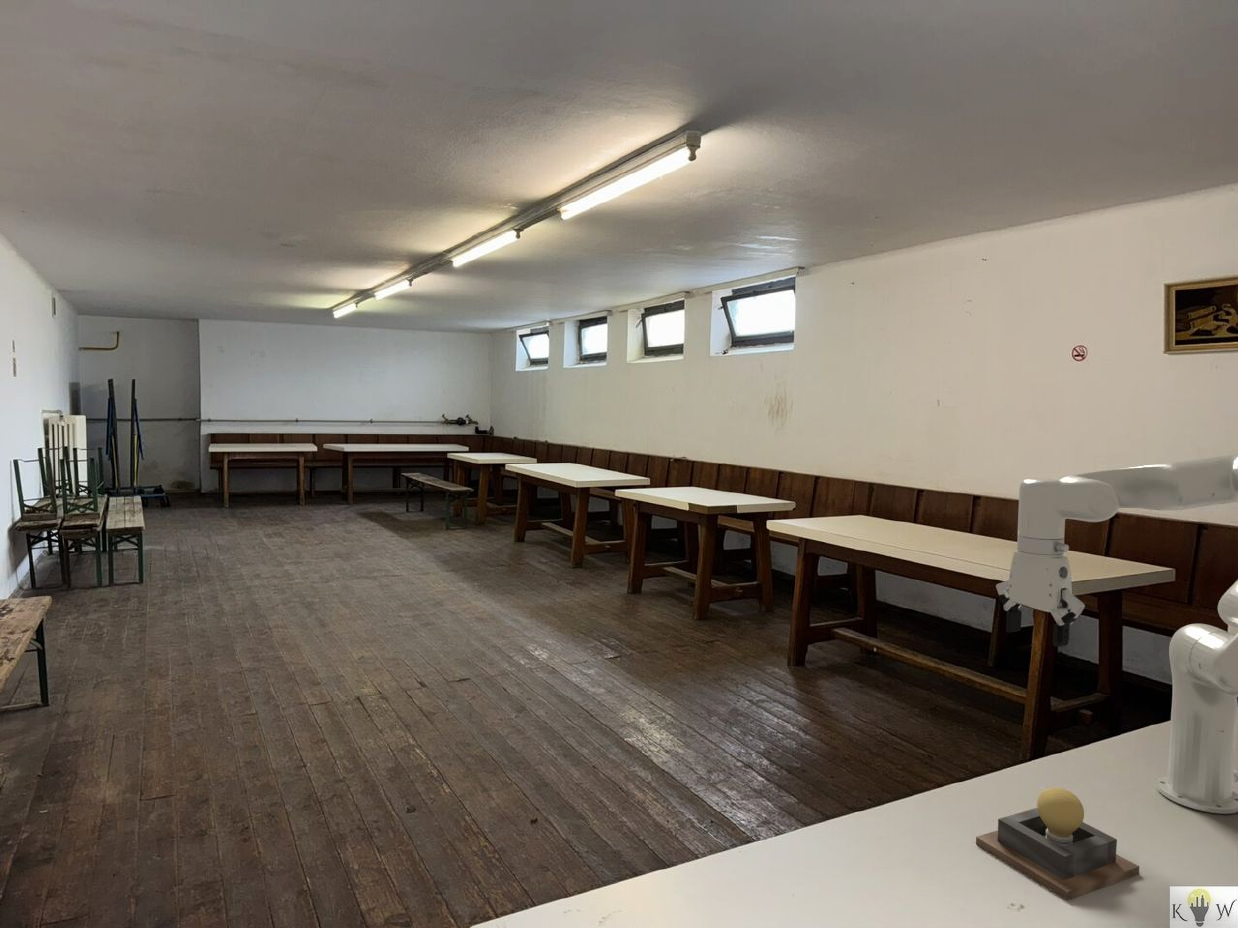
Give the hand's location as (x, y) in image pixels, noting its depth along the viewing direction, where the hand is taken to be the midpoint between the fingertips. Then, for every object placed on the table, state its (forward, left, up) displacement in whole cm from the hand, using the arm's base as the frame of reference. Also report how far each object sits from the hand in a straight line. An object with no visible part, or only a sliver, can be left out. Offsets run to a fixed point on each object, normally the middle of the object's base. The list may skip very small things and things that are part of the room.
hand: (1036, 638), depth 145 cm
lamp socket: (+17, +18, -28) cm, 38 cm away
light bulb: (+17, +18, -27) cm, 37 cm away
